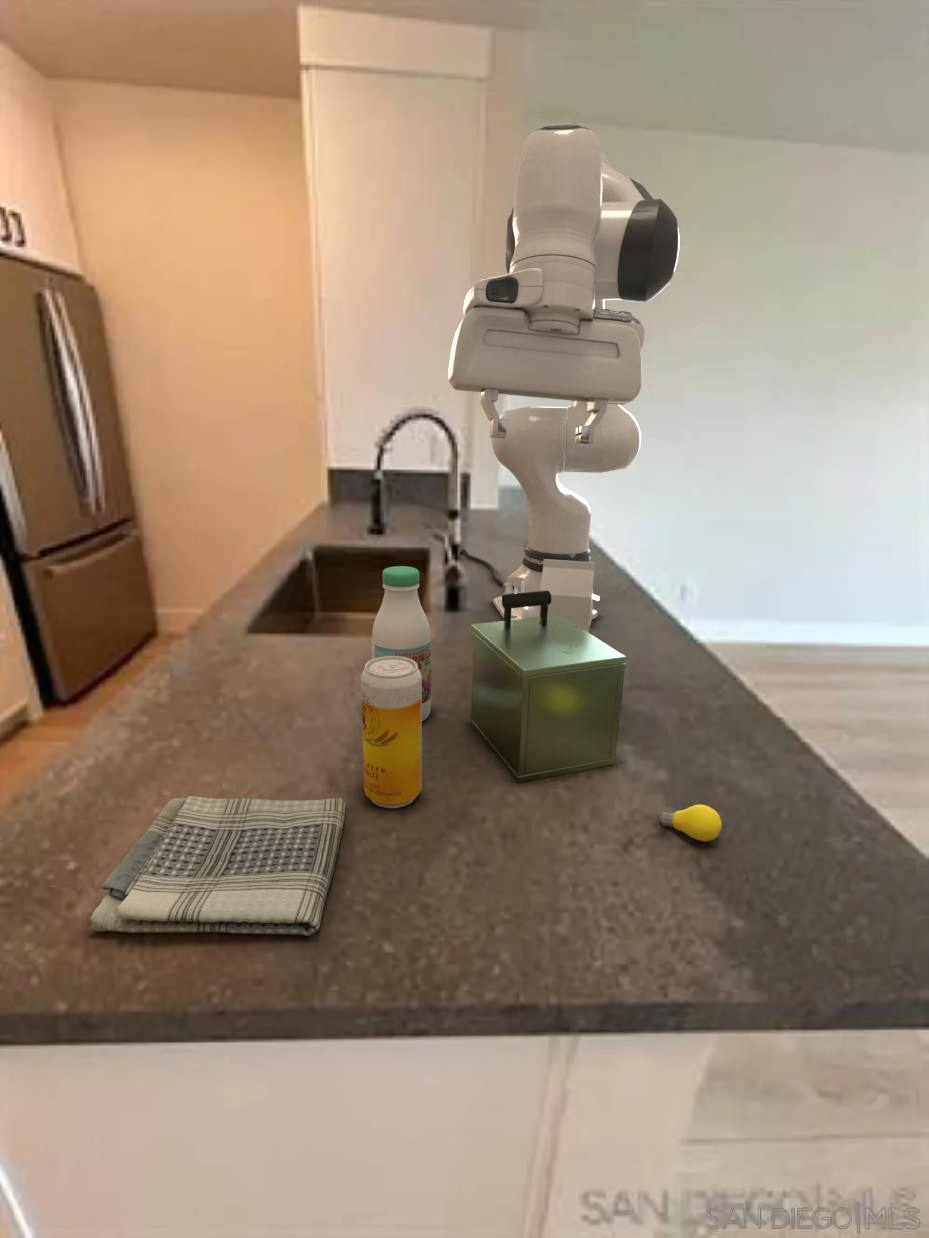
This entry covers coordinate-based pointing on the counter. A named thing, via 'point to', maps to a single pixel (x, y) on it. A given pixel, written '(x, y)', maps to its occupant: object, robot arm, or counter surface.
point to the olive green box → (545, 715)
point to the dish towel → (227, 868)
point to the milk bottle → (404, 626)
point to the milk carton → (569, 590)
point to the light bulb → (695, 822)
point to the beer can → (392, 730)
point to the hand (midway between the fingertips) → (541, 441)
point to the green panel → (543, 639)
